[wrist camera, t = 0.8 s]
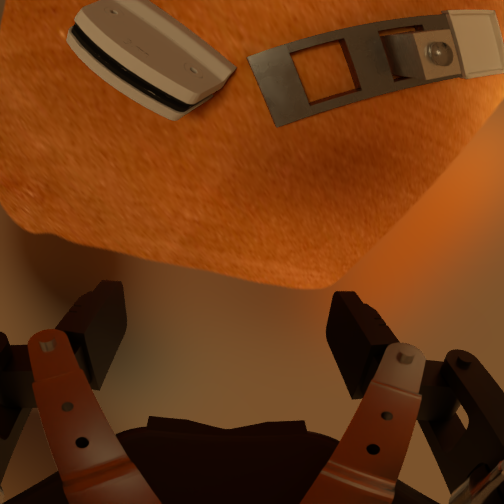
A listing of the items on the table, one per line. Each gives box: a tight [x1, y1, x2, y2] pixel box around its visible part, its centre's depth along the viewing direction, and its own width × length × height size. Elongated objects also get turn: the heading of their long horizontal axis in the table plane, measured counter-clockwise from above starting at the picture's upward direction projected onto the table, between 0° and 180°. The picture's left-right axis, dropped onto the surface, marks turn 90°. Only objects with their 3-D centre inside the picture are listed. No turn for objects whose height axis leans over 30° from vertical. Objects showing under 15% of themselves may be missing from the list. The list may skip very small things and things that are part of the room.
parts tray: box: [441, 10, 504, 79], centre depth 24 cm, size 9×9×2 cm
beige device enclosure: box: [67, 0, 237, 121], centre depth 24 cm, size 17×5×10 cm, turn 46°
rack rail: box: [247, 14, 463, 127], centre depth 27 cm, size 8×24×2 cm, turn 112°
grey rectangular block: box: [380, 29, 461, 80], centre depth 24 cm, size 5×5×9 cm
